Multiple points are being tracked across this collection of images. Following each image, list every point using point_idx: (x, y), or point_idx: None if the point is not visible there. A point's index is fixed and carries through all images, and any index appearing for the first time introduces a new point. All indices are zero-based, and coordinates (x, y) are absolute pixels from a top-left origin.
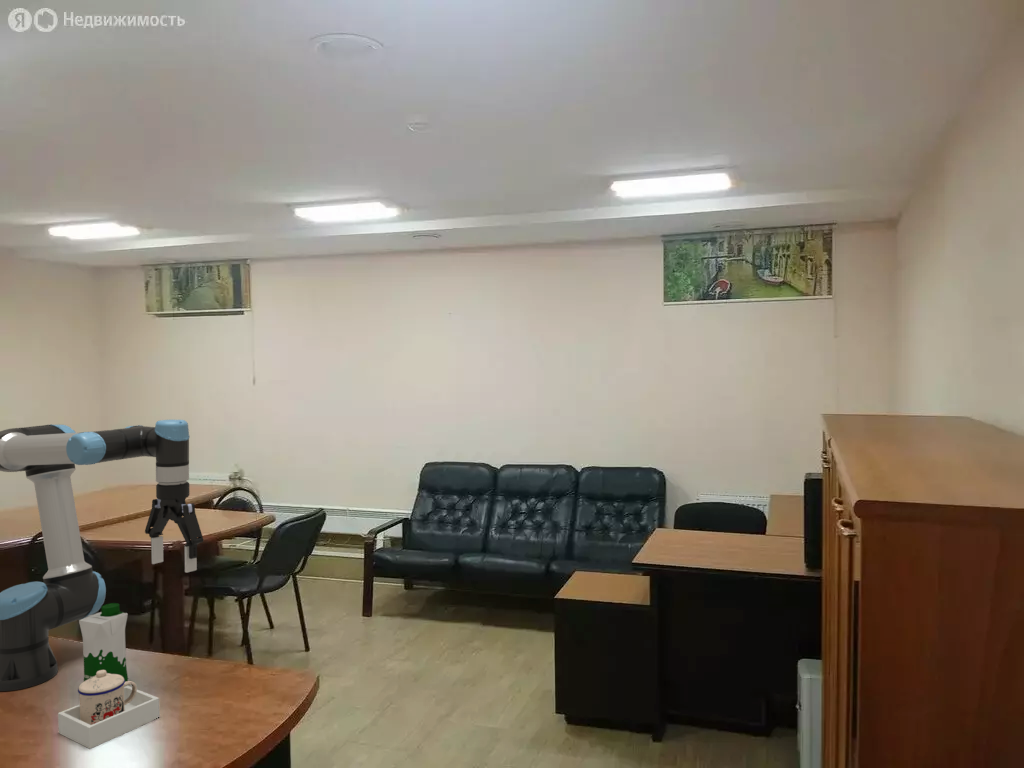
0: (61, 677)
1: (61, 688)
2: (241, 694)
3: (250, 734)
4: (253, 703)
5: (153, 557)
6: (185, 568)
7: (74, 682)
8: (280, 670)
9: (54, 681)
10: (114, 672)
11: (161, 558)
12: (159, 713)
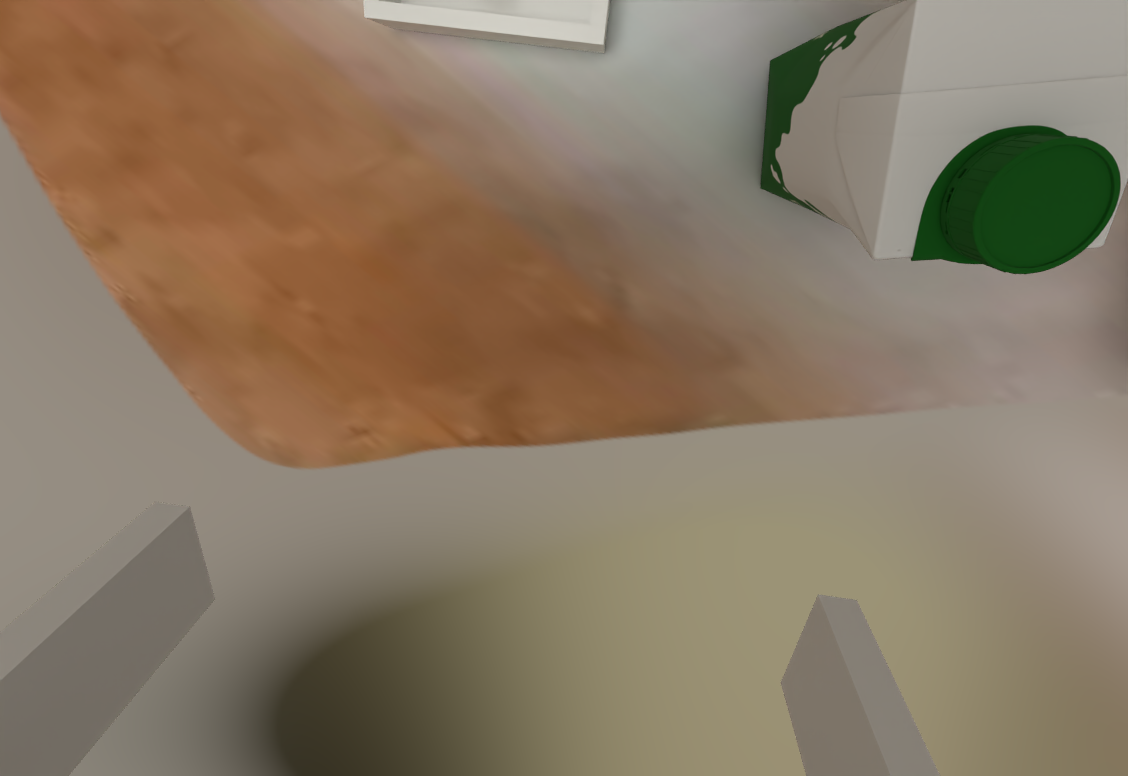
0: None
1: None
2: (316, 292)
3: (29, 89)
4: (227, 260)
5: (849, 673)
6: (143, 536)
7: None
8: (364, 457)
9: None
10: (773, 111)
11: (797, 707)
12: (388, 26)
